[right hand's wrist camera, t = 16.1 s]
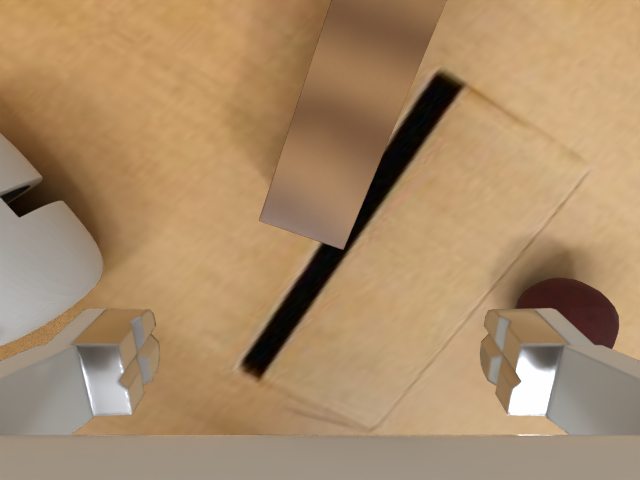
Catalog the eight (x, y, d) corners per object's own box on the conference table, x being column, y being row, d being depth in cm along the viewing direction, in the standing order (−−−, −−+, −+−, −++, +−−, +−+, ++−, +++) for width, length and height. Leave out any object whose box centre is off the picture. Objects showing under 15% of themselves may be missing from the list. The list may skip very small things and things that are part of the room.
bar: (338, 214, 35) (343, 250, 27) (272, 191, 34) (258, 221, 26) (463, -103, 27) (521, -179, 19) (383, -141, 27) (409, -236, 19)
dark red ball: (592, 266, 36) (653, 306, 30) (570, 341, 39) (622, 393, 32) (509, 263, 36) (552, 302, 29) (493, 339, 39) (529, 390, 32)
